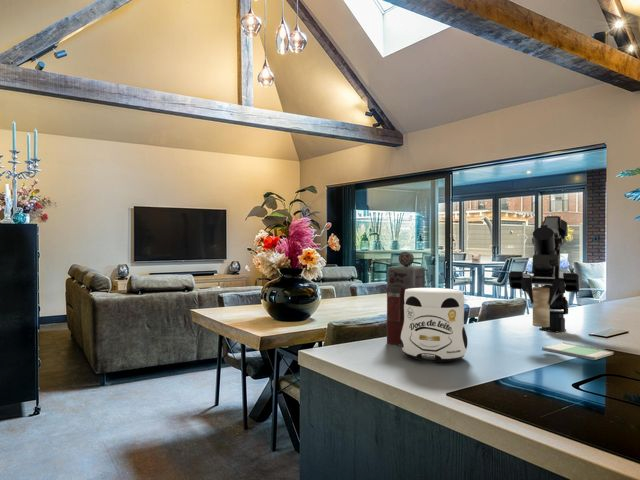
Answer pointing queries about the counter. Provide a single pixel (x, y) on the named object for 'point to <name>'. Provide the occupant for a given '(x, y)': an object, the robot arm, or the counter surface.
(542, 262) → the robot arm
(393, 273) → the dark red bottle
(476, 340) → the counter surface
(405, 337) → the white black rounded container
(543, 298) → the peg
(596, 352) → the board
